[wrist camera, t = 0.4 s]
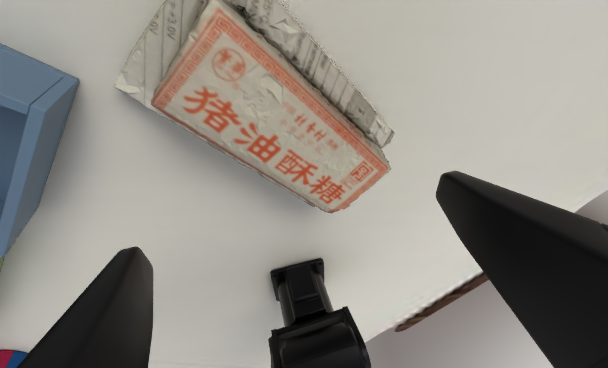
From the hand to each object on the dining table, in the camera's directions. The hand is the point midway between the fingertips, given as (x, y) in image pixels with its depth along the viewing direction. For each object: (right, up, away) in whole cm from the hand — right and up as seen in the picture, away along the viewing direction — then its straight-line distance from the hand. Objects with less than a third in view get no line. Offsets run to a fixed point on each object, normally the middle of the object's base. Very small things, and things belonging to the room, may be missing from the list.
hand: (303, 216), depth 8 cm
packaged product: (-2, +7, +13) cm, 15 cm away
